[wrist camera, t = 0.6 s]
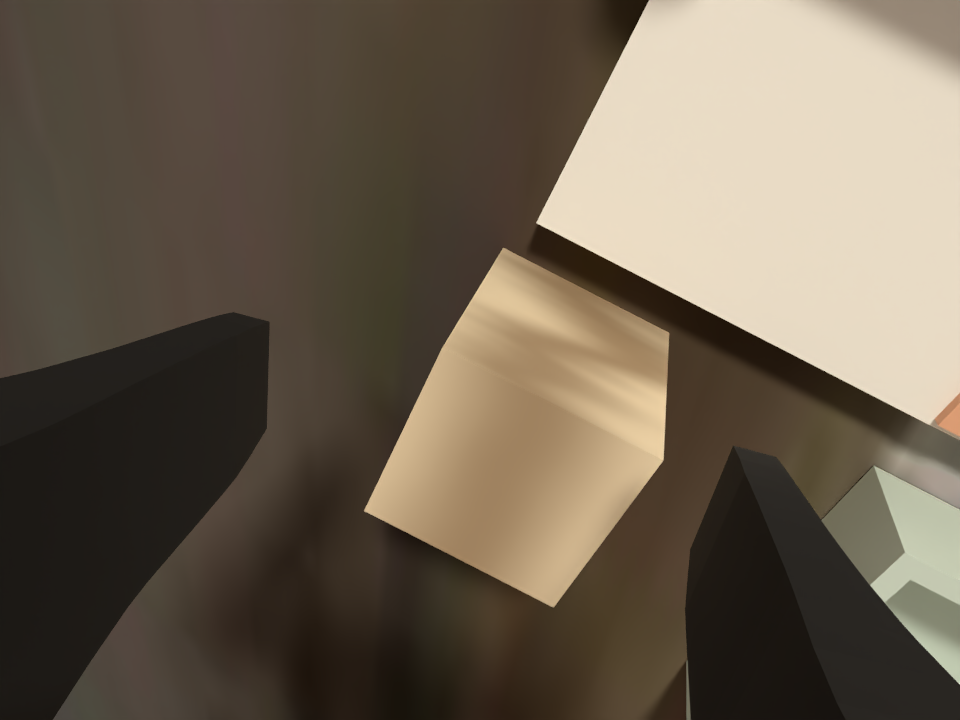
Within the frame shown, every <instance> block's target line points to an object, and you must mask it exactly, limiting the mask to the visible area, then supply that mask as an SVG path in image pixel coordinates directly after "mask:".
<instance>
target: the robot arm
mask: <svg viewBox="0 0 960 720" xmlns="http://www.w3.org/2000/svg"><path fill="white" fill-rule="evenodd" d="M268 358H269V322H268V321H264V320H261V319H257V318H253V317H249V316H246V315H242V314H238V313H234V312H233V313H228V314H223V315H219V316H215V317H211V318H208V319H205V320H201V321H198V322H195V323H191V324H188V325H185V326H182V327H179V328H176V329H173V330H170V331H166V332H163V333H160V334H157V335H154V336H151V337H148V338H145V339H141V340H138V341H135V342H132V343H129V344H126V345H123V346H120V347H116V348H113V349H110V350H106V351H103V352H99V353H96V354H92V355H89V356H85V357H82V358H78V359H75V360H71V361H67V362H64V363H60V364H57V365H53V366H50V367H46V368H42V369H38V370H34V371H30V372H26V373H22V374H18V375H13V376H9V377H4V378H0V720H53V718H54V717H55V715H56V714H57V712H58V711H59V709H60V708H61V706H62V704H63V703H64V701H65V700H66V698H67V697H68V695H69V694H70V692H71V691H72V689H73V687H74V686H75V684H76V683H77V681H78V680H79V678H80V677H81V675H82V674H83V672H84V671H85V669H86V667H87V666H88V664H89V663H90V661H91V660H92V658H93V657H94V655H95V654H96V653H97V651H98V650H99V648H100V647H101V645H102V644H103V642H104V641H105V639H106V638H107V637H108V635H109V634H110V632H111V631H112V629H113V628H114V626H115V625H116V623H117V622H118V621H119V619H120V618H121V616H122V615H123V613H124V612H125V610H126V609H127V608H128V606H129V605H130V604H131V602H132V601H133V600H134V598H135V597H136V596H137V595H138V593H139V592H140V591H141V590H142V588H143V587H144V586H145V584H146V583H147V582H148V581H149V580H150V578H151V577H152V576H153V575H154V574H155V573H156V571H157V570H158V569H159V568H160V567H161V566H162V564H163V563H164V562H165V561H166V560H167V559H168V557H169V556H170V555H171V554H172V553H173V552H174V550H175V549H176V548H177V547H178V546H179V545H180V543H181V542H182V541H183V540H184V539H185V538H186V536H187V535H188V534H189V533H190V532H191V531H192V529H193V528H194V527H195V526H196V525H197V524H198V522H199V521H200V520H201V519H202V518H203V517H204V515H205V514H206V513H207V512H208V511H209V509H210V508H211V507H212V506H213V505H214V504H215V502H216V501H217V500H218V499H219V498H220V496H221V495H222V494H223V493H224V492H225V490H226V489H227V488H228V487H229V486H230V484H231V483H232V482H233V481H234V479H235V478H236V477H237V475H238V474H239V472H240V471H241V469H242V468H243V466H244V464H245V463H246V461H247V460H248V458H249V457H250V455H251V454H252V452H253V450H254V449H255V447H256V445H257V444H258V442H259V440H260V439H261V437H262V435H263V434H264V432H265V430H266V429H267V395H268ZM685 616H686V639H687V660H688V679H689V697H690V716H691V720H960V684H959V683H958V682H957V681H956V680H955V679H954V678H953V677H952V676H951V675H950V674H949V673H948V672H947V671H946V670H945V669H944V668H943V667H942V666H941V665H940V664H939V662H938V661H937V660H936V659H935V658H934V657H933V656H932V655H931V654H930V653H929V652H928V651H927V650H926V649H925V648H924V647H923V646H922V645H921V644H920V643H919V642H918V641H917V639H916V638H915V637H914V636H913V635H912V634H911V633H910V632H909V631H908V629H907V628H906V627H905V626H904V625H903V624H902V623H901V622H900V620H899V619H898V618H897V617H896V616H895V615H894V613H893V612H892V611H891V610H890V609H889V607H888V606H887V605H886V604H885V603H884V601H883V600H882V599H881V598H880V597H879V595H878V594H877V593H876V592H875V591H874V589H873V588H872V587H871V586H870V585H869V583H868V582H867V581H866V580H865V578H864V577H863V576H862V574H861V573H860V572H859V571H858V569H857V568H856V567H855V565H854V564H853V563H852V562H851V560H850V559H849V558H848V556H847V555H846V554H845V552H844V551H843V550H842V548H841V547H840V546H839V544H838V543H837V542H836V540H835V539H834V537H833V536H832V535H831V533H830V532H829V531H828V529H827V528H826V526H825V525H824V524H823V522H822V521H821V519H820V518H819V517H818V515H817V514H816V512H815V511H814V509H813V508H812V507H811V505H810V504H809V502H808V501H807V499H806V498H805V497H804V495H803V494H802V492H801V491H800V489H799V488H798V487H797V485H796V484H795V482H794V481H793V479H792V478H791V476H790V475H789V474H788V472H787V471H786V469H785V468H784V467H783V465H782V464H781V463H780V461H779V460H778V459H777V458H776V457H774V456H770V455H766V454H763V453H759V452H755V451H751V450H748V449H744V448H740V447H736V446H733V448H732V450H731V453H730V455H729V457H728V460H727V462H726V465H725V467H724V469H723V472H722V474H721V477H720V479H719V482H718V484H717V486H716V489H715V491H714V494H713V496H712V499H711V501H710V503H709V506H708V508H707V511H706V513H705V515H704V518H703V520H702V523H701V525H700V528H699V530H698V532H697V535H696V537H695V540H694V542H693V544H692V547H691V549H690V560H689V570H688V581H687V594H686V607H685Z"/></svg>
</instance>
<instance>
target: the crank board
mask: <svg viewBox="0 0 960 720" xmlns="http://www.w3.org/2000/svg"><path fill="white" fill-rule="evenodd" d="M537 224H539V225H541V226H543V227H545V228H547V229H549V230H551V231H553V232H555V233H557V234H559V235H561V236H562V237H564V238H566V239H568V240H570V241H572V242H574V243H576V244H578V245H580V246H582V247H584V248H586V249H588V250H590V251H592V252H594V253H596V254H598V255H599V256H601V257H603V258H605V259H607V260H609V261H611V262H613V263H615V264H617V265H619V266H621V267H623V268H625V269H627V270H629V271H631V272H633V273H634V274H636V275H638V276H640V277H642V278H644V279H646V280H648V281H650V282H652V283H654V284H656V285H658V286H660V287H662V288H664V289H666V290H668V291H670V292H671V293H673V294H675V295H677V296H679V297H681V298H683V299H685V300H687V301H689V302H691V303H693V304H695V305H697V306H699V307H701V308H703V309H705V310H706V311H708V312H710V313H712V314H714V315H716V316H718V317H720V318H722V319H724V320H726V321H728V322H730V323H732V324H734V325H736V326H738V327H740V328H742V329H743V330H745V331H747V332H749V333H751V334H753V335H755V336H757V337H759V338H761V339H763V340H765V341H767V342H769V343H771V344H773V345H775V346H777V347H779V348H780V349H782V350H784V351H786V352H788V353H790V354H792V355H794V356H796V357H798V358H800V359H802V360H804V361H806V362H808V363H810V364H812V365H814V366H815V367H817V368H819V369H821V370H823V371H825V372H827V373H829V374H831V375H833V376H835V377H837V378H839V379H841V380H843V381H845V382H847V383H849V384H851V385H852V386H854V387H856V388H858V389H860V390H862V391H864V392H866V393H868V394H870V395H872V396H874V397H876V398H878V399H880V400H882V401H884V402H886V403H888V404H889V405H891V406H893V407H895V408H897V409H899V410H901V411H903V412H905V413H907V414H909V415H911V416H913V417H915V418H917V419H919V420H921V421H923V422H924V423H926V424H928V425H930V426H932V427H934V428H936V429H938V430H940V431H942V432H944V433H946V434H948V435H950V436H952V437H954V438H956V439H958V440H960V0H649V1H648V3H647V5H646V7H645V9H644V11H643V13H642V15H641V17H640V19H639V21H638V23H637V25H636V27H635V29H634V31H633V33H632V35H631V37H630V39H629V41H628V43H627V45H626V47H625V49H624V51H623V53H622V55H621V57H620V59H619V61H618V63H617V65H616V67H615V69H614V70H613V72H612V74H611V76H610V78H609V80H608V82H607V84H606V86H605V88H604V90H603V92H602V94H601V96H600V98H599V100H598V102H597V104H596V106H595V108H594V110H593V112H592V114H591V116H590V118H589V120H588V122H587V124H586V126H585V128H584V130H583V132H582V134H581V136H580V138H579V140H578V142H577V144H576V146H575V148H574V150H573V152H572V153H571V155H570V157H569V159H568V161H567V163H566V165H565V167H564V169H563V171H562V173H561V175H560V177H559V179H558V181H557V183H556V185H555V187H554V189H553V191H552V193H551V195H550V197H549V199H548V201H547V203H546V205H545V207H544V209H543V211H542V213H541V215H540V217H539V219H538V221H537Z"/></svg>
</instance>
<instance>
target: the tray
mask: <svg viewBox="0 0 960 720" xmlns="http://www.w3.org/2000/svg"><path fill="white" fill-rule="evenodd" d="M821 521H822V522H823V524H824V525H825V526H826V528H827V529H828V531H829V532H830V533H831V535H832V536H833V537H834V539H835V540H836V542H837V543H838V544H839V546H840V547H841V548H842V550H843V551H844V552H845V554H846V555H847V556H848V558H849V559H850V560H851V562H852V563H853V564H854V565H855V567H856V568H857V569H858V571H859V572H860V573H861V574H862V576H863V577H864V578H865V580H866V581H867V582H868V583H869V585H870V586H871V587H872V588H873V589H874V591H875V592H876V593H877V594H878V595H879V597H880V598H881V599H882V600H883V601H884V603H885V604H886V605H887V606H888V607H889V609H890V610H891V611H892V612H893V613H894V615H895V616H896V617H897V618H898V619H899V620H900V622H901V623H902V624H903V625H904V626H905V627H906V628H907V629H908V631H909V632H910V633H911V634H912V635H913V636H914V637H915V638H916V639H917V641H918V642H919V643H920V644H921V645H922V646H923V647H924V648H925V649H926V650H927V651H928V652H929V653H930V654H931V655H932V656H933V657H934V658H935V659H936V660H937V661H938V662H939V664H940V665H941V666H942V667H943V668H944V669H945V670H946V671H947V672H948V673H949V674H950V675H951V676H952V677H953V678H954V679H955V680H956V681H957V682H958V683H959V684H960V510H959V509H957V508H955V507H953V506H951V505H949V504H948V503H946V502H944V501H942V500H940V499H938V498H936V497H934V496H932V495H930V494H928V493H926V492H924V491H922V490H920V489H918V488H916V487H914V486H912V485H910V484H909V483H907V482H905V481H903V480H901V479H899V478H897V477H895V476H893V475H891V474H889V473H887V472H885V471H883V470H881V469H879V468H877V467H875V466H873V467H872V468H871V469H870V470H869V471H868V472H867V473H866V474H865V475H864V476H863V477H862V478H861V479H860V480H859V481H858V483H857V484H856V485H855V486H854V487H853V488H852V489H851V490H850V491H849V492H848V493H847V494H846V495H845V496H844V497H843V498H842V499H841V500H840V501H839V502H838V503H837V504H836V506H835V507H834V508H833V509H832V510H831V511H830V512H829V513H828V514H827V515H826V516H825V517H824V518H823V519H822V520H821ZM686 720H691V716H690V697H689V679H688V660H687V661H686Z"/></svg>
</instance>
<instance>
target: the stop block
mask: <svg viewBox="0 0 960 720" xmlns="http://www.w3.org/2000/svg"><path fill="white" fill-rule="evenodd" d="M668 347H669V333H668V332H666V331H664V330H662V329H660V328H658V327H657V326H655V325H653V324H651V323H649V322H647V321H645V320H643V319H641V318H639V317H637V316H635V315H633V314H631V313H629V312H627V311H625V310H623V309H621V308H620V307H618V306H616V305H614V304H612V303H610V302H608V301H606V300H604V299H602V298H600V297H598V296H596V295H594V294H592V293H590V292H588V291H586V290H584V289H582V288H581V287H579V286H577V285H575V284H573V283H571V282H569V281H567V280H565V279H563V278H561V277H559V276H557V275H555V274H553V273H551V272H549V271H547V270H545V269H544V268H542V267H540V266H538V265H536V264H534V263H532V262H530V261H528V260H526V259H524V258H522V257H520V256H518V255H516V254H514V253H512V252H510V251H508V250H507V249H505V248H503V249H502V251H501V252H500V254H499V256H498V257H497V259H496V261H495V262H494V264H493V266H492V267H491V269H490V270H489V272H488V274H487V275H486V277H485V279H484V280H483V282H482V284H481V285H480V287H479V289H478V290H477V292H476V293H475V295H474V297H473V298H472V300H471V302H470V303H469V305H468V307H467V308H466V310H465V311H464V313H463V315H462V316H461V318H460V320H459V321H458V323H457V325H456V326H455V328H454V329H453V331H452V333H451V334H450V336H449V338H448V339H447V341H446V343H445V344H444V346H443V348H442V350H441V352H440V354H439V356H438V358H437V360H436V362H435V364H434V366H433V369H432V371H431V373H430V375H429V377H428V379H427V381H426V383H425V385H424V387H423V389H422V391H421V394H420V396H419V398H418V400H417V402H416V404H415V406H414V408H413V410H412V412H411V414H410V417H409V419H408V421H407V423H406V425H405V427H404V429H403V431H402V433H401V435H400V437H399V439H398V442H397V444H396V446H395V448H394V450H393V452H392V454H391V456H390V458H389V460H388V462H387V465H386V467H385V469H384V471H383V473H382V475H381V477H380V479H379V481H378V483H377V485H376V487H375V490H374V492H373V494H372V496H371V498H370V500H369V502H368V504H367V506H366V508H365V510H364V511H366V512H367V513H369V514H371V515H373V516H375V517H377V518H379V519H381V520H383V521H385V522H387V523H389V524H391V525H393V526H395V527H397V528H399V529H401V530H403V531H405V532H407V533H409V534H411V535H412V536H414V537H416V538H418V539H420V540H422V541H424V542H426V543H428V544H430V545H432V546H434V547H436V548H438V549H440V550H442V551H444V552H446V553H448V554H450V555H452V556H454V557H455V558H457V559H459V560H461V561H463V562H465V563H467V564H469V565H471V566H473V567H475V568H477V569H479V570H481V571H483V572H485V573H487V574H489V575H491V576H493V577H495V578H497V579H499V580H500V581H502V582H504V583H506V584H508V585H510V586H512V587H514V588H516V589H518V590H520V591H522V592H524V593H526V594H528V595H530V596H532V597H534V598H536V599H538V600H540V601H542V602H544V603H545V604H547V605H549V606H551V607H553V608H554V606H555V605H556V604H557V602H558V601H559V600H560V598H561V597H562V596H563V594H564V593H565V592H566V590H567V589H568V588H569V586H570V585H571V584H572V582H573V581H574V579H575V578H576V577H577V575H578V574H579V573H580V571H581V570H582V569H583V567H584V566H585V565H586V563H587V562H588V561H589V559H590V558H591V557H592V555H593V554H594V553H595V551H596V550H597V549H598V547H599V546H600V545H601V543H602V542H603V541H604V539H605V538H606V537H607V535H608V534H609V533H610V531H611V530H612V529H613V527H614V526H615V525H616V523H617V522H618V521H619V519H620V518H621V517H622V515H623V514H624V513H625V511H626V510H627V508H628V507H629V506H630V504H631V503H632V502H633V500H634V499H635V498H636V496H637V495H638V494H639V492H640V491H641V490H642V488H643V487H644V486H645V484H646V483H647V482H648V480H649V479H650V478H651V476H652V475H653V474H654V472H655V471H656V470H657V468H658V467H659V466H660V464H661V463H662V462H663V459H664V437H665V414H666V392H667V370H668Z"/></svg>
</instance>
